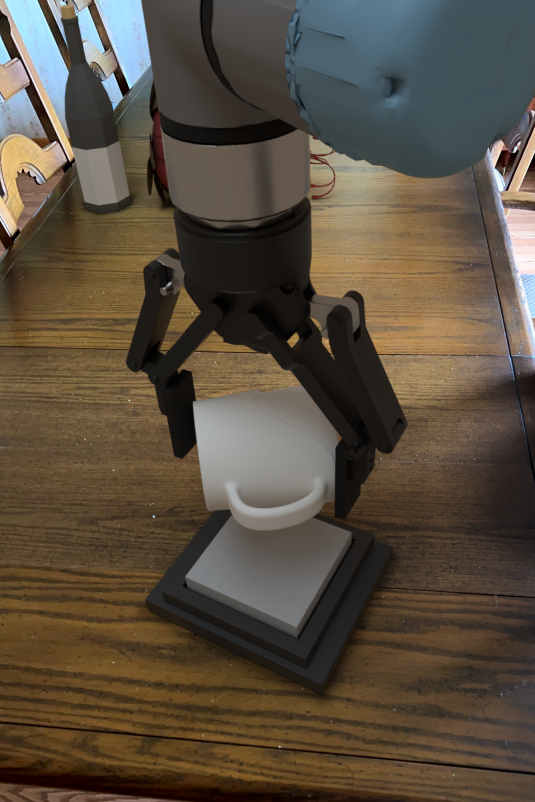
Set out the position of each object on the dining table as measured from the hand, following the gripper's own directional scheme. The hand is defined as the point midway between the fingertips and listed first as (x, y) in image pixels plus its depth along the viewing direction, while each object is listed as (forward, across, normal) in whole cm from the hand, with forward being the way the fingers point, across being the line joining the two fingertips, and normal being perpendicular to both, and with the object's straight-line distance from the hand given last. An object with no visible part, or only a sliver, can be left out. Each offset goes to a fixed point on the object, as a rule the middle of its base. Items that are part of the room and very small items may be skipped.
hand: (264, 474), depth 52 cm
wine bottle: (+14, +62, -55) cm, 84 cm away
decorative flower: (+14, +42, -68) cm, 81 cm away
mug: (+2, 0, 0) cm, 2 cm away
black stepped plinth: (+13, 0, 0) cm, 13 cm away
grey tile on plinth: (+11, 0, 0) cm, 11 cm away
